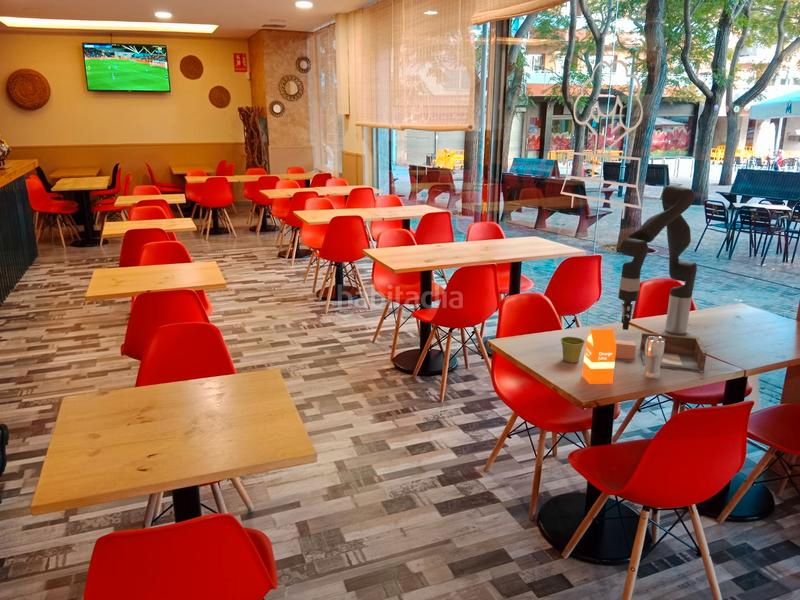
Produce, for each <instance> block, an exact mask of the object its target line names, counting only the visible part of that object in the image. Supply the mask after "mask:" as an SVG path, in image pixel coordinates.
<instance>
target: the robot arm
mask: <svg viewBox="0 0 800 600" xmlns="http://www.w3.org/2000/svg"><path fill="white" fill-rule="evenodd" d="M694 199H695V192H694V190H693V189H691V188H689V187H686V186H682V185H677V184H669V185H666V186H665V187H664V188H663V191H662V194H661V204H662V209H663V211H661V212H659V213H657V214H655V215H652V216H650V217H648V219H647V220H646V221H645V222H644V223H643V224H642V225H641V226H640V227H639V228H638V229H637V230H635V231H633V232H632V233H631V234H629V235H627V236H626V237H625V238H623V240H622V241H621V243H620V246H619V250H620V251H619V252H620V253H621V254H622V255H623V256H627V257H632V260H631V261H625V262H623V264H622V268H621V274H620V275H621V276H620V281H619V289H618V295H617V297H618V299H619V300H621V301H622V302H621V314H622V315H621V324H622V330H624V331H628V330H629V325H630V322H631V320H632V319H631V317H632V310H633V307H634V305H633V303H632V302H637V301H638V299H639V295H640V294H639V292H640V286H641V280H640V279H641V272H642V267H643V265H644V262H645V259H646V257H647V255H648V252H649V245H648V243H651V242H653V241H654V239H656V237H657V236H658V235H659V234H660V233H661V232H662V231H663V230H664V229H665V228H666V237H667V238H666V239H667V246H668V257H669V258H668V274H669V278H670V279H672V280H674V281H679V282H685V283H684V284H683V285H679V286H674V287H671V288H670V292H669V298H668V305H667V307H668V308H667V313H666V320H665V325H664V327H665V328H664V330H665V331H666V332H667V333H670V334H677V335H684V334H687V331H688V324H689V318H690V311H691V306H692V299H693V298H692V297H693V291H694V287H695V286H694V285H695V281H696V280H695V279H696V276H697V272H698V271H697V270H698V267H697V263H696V262H694V261H688V260H680V258H679V257H680V256H681V254H682V253H684V251H685V250H686V249H687V248H688V247H689V245H690V244H691V242H692V239H691V237H692V236H691V235H692V233H691V228H690V225H689V224H688V222H687V221H686V219H685V218H684V217H683V215H682V214H683V213H685V212H686V211H687V210H688V209H689V208H690V207H691V205H692V204H693V202H694Z"/></svg>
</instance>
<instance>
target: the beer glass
mask: <svg viewBox="0 0 800 600" xmlns="http://www.w3.org/2000/svg"><path fill="white" fill-rule="evenodd" d="M664 351H665V339H664V338H662V337H658V336H648V337H647V340H646V344H645V366H644V367H643V368H644V369H643V371H642V376H643V377H645V378H647V379H651V378H652V379H651V380H655V379H660V376H661V373H660V372H661V371H660V370H661V367H660V365H661V362H662V359H663V356H664Z"/></svg>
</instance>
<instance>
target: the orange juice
mask: <svg viewBox="0 0 800 600" xmlns="http://www.w3.org/2000/svg"><path fill="white" fill-rule="evenodd" d="M615 337H616V336H615V330H614V329H613V328H603V329H602V328H599V329H596V328H594V329H590V331H589V332H588V334H587V336H586V339H585V343H584V345H585V346H584V355H583V362H582V363H583V364H582V365H583V366H582V374H581V376H582V377H583V378H584V379H585V381H586V382H587V381H588V382H587V383H588V384H589V385H594V384H596V385H597V384H599V385H600V384H601V385H603V384H613V381H614V380H613V379H614V373H615V372H614V370H615V364H616V363H615V361H616V357H615V355H616V342H615V340H616V338H615Z"/></svg>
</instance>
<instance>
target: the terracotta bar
mask: <svg viewBox="0 0 800 600" xmlns="http://www.w3.org/2000/svg"><path fill="white" fill-rule="evenodd" d="M615 342H616V355H615V358H619V357H620V358H622V359H623V358H624V359H629V360H630V359H631V360H635V357H636V352H637V351H636V349H637V344H636V341H632V340H624V339H623V340H622V339H615Z"/></svg>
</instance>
